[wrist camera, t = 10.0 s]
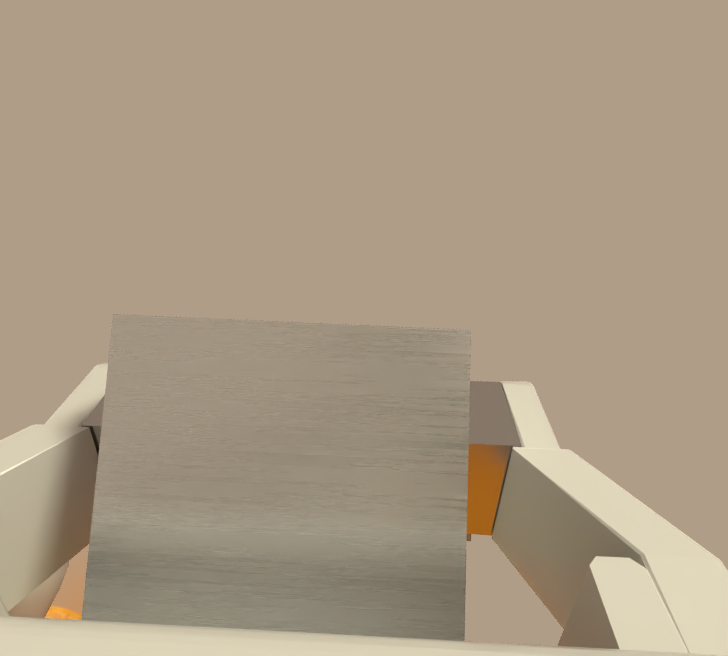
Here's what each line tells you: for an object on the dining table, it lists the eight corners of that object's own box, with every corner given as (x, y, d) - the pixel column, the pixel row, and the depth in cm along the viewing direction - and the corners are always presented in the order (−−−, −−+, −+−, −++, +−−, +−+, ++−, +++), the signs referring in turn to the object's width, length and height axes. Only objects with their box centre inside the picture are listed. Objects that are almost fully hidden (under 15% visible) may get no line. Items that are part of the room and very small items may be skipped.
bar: (481, 744, 5) (489, 312, 6) (52, 718, 5) (97, 296, 6) (387, 439, 37) (390, 377, 37) (326, 436, 37) (329, 374, 38)
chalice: (74, 745, 40) (84, 516, 40) (-35, 787, 36) (-24, 533, 36) (63, 689, 46) (72, 489, 46) (-32, 720, 42) (-23, 502, 42)
